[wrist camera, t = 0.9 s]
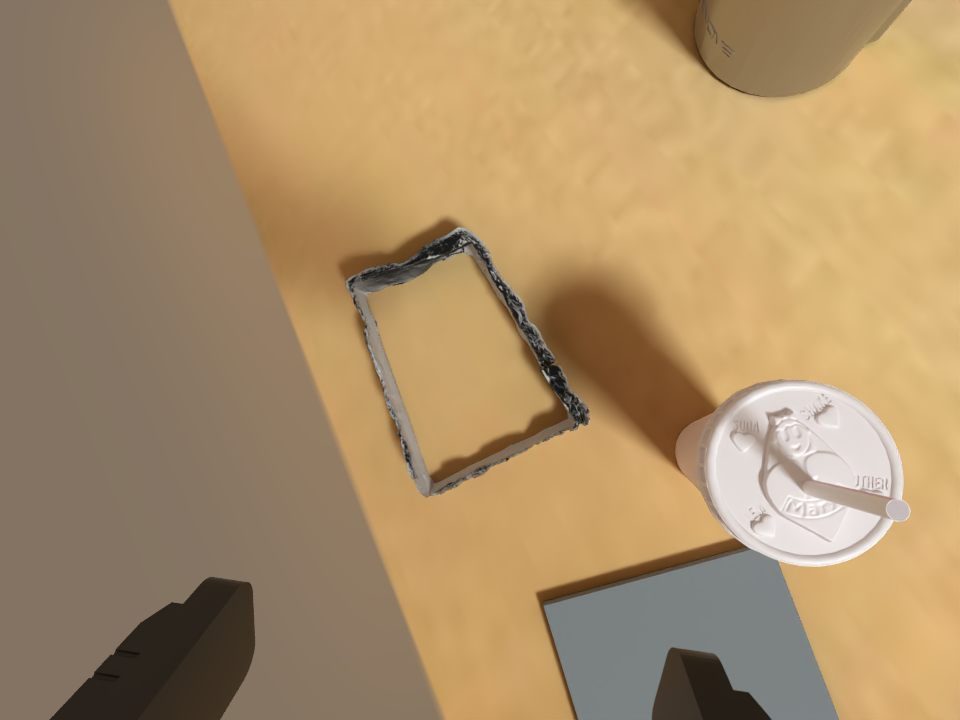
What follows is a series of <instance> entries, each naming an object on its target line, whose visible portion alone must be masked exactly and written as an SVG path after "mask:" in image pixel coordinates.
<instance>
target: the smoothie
mask: <svg viewBox="0 0 960 720" xmlns="http://www.w3.org/2000/svg"><path fill="white" fill-rule="evenodd" d="M675 456H676V460H677V463H678V466H679V468H680V469H681V471H682V472H683V474H684V475H685V476H686V477H687V478H688V479H689V480H690V481H691V482H692V483H693V484H694V485H695V487H696V488H697V489H698V490H699V491H700V492H701V494H702V496H703V498H704V500H705V502H706V504H707V506H708V508H709V510H710V512H711V514H712V515H713V516H714V517H715V518H716V519H717V521H718V522H719V523H720V524H721V525H722V526H723V528H724V529H725V530H726V531H727V532H728V533H729V534H730V535H732V536H733V537H734V538H736V539H737V540H739V541H740V542H741V543H743V544H744V545H745V546H747V547H748V548H750V549H752V550H755V551H757V552H760V553H762V554H764V555H766V556H768V557H770V558H772V559H775V560H778V561H781V562H784V563H788V564H793V565H799V566H828V565H833V564H838V563H841V562H844V561H847V560H850V559H852V558H855V557H857V556H858V555H860V554H862V553H864V552H865V551H867V550H868V549H870V548H871V547H872V546H874V545H875V544H876V543H877V542H878V541H879V540H880V539H881V538H882V537H883V536H884V535H885V533H886V532H887V531H888V529H889V528H890V526H891V525H892V523H893V521H899V522H901V521H905V520H906V519H908V517H909V516H910V507H909V505H908V504H907V503H906V502H905V501H903V500H902V494H903V469H902V463H901V459H900V455H899V452H898V450H897V447H896V444H895V442H894V440H893V438H892V436H891V435H890V433H889V431H888V430H887V428H886V427H885V425H884V424H883V423H882V421H881V420H880V419H879V418H878V417H877V416H876V415H875V413H873V412H872V411H871V410H870V409H869V408H868V407H867V406H866V405H864V404H863V403H862V402H861V401H859V400H858V399H856V398H855V397H853V396H852V395H850V394H848V393H846V392H844V391H842V390H840V389H837V388H835V387H832V386H829V385H826V384H823V383H818V382H814V381H807V380H782V379H781V380H774V381H768V382H761V383H756V384H754V385H752V386H749V387H747V388H745V389H742V390H740V391H738V392H735V393H734V394H733V395H732V396H730V397H729V398H728V399H727V400H725V401H724V402H723V403H722V404H720V405H719V406H718V407H717V408H716V410H715V411H714V412H713V413H711V414H709V415H707V416H705V417H703V418H701V419H699V420H696V421H694V422H692V423H691V424H689V425H688V426H686V427H685V428H684V429H683V430H682V432H681V433H680V435H679V437H678V439H677V442H676V446H675Z"/></svg>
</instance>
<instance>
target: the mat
mask: <svg viewBox="0 0 960 720" xmlns="http://www.w3.org/2000/svg"><path fill="white" fill-rule="evenodd" d="M543 606H544V609H545V613H546V616H547V619H548V623H549V626H550V629H551V632H552V636H553V639H554V642H555V645H556V649H557V652H558V655H559V658H560V662H561V665H562V668H563V671H564V675H565V678H566V681H567V685H568V688H569V691H570V694H571V698H572V701H573V704H574V707H575V711H576V714H577V717H578V720H652V710H653V705H654V701H655V697H656V694H657V690H658V686H659V683H660V679H661V675H662V672H663V668H664V664H665V661H666V657H667V654H668V651H669V650H670V648H672V647H674V648H681V649H688V650H694V651H701V652H708V653H714V654H715V655H716V656H717V657H718V658H719V659H720V661H721V663H722V665H723V667H724V670H725V672H726V674H727V677H728V679H729V681H730V683H731V686H732V688H733V690H737V691H744V692H749V693H750V694H751V695H752V697H753V698H754V699H755V700H756V701H757V703H758V704H759V705H760V706H761V707H762V708H763V710H764V711H765V712H766V713H767V714H768V716H769V717H770V718H771V719H772V720H839V718H838V715H837V713H836V710H835V708H834V705H833V702H832V700H831V697H830V695H829V692H828V690H827V687H826V684H825V682H824V679H823V677H822V674H821V671H820V669H819V666H818V664H817V661H816V659H815V656H814V653H813V651H812V648H811V646H810V643H809V641H808V638H807V635H806V633H805V630H804V628H803V625H802V622H801V620H800V617H799V615H798V612H797V610H796V607H795V604H794V602H793V599H792V597H791V594H790V591H789V589H788V586H787V584H786V581H785V579H784V576H783V573H782V571H781V568H780V566H779V563H778V560H775V559H772V558H770V557H768V556H766V555H764V554H762V553H760V552H757V551H755V550H752V549H750V548H748V547H743V548H740V549H736V550H732V551H729V552H725V553H721V554H718V555H714V556H710V557H707V558H703V559H699V560H696V561H692V562H688V563H685V564H681V565H677V566H674V567H670V568H666V569H662V570H659V571H655V572H651V573H648V574H644V575H640V576H637V577H633V578H629V579H626V580H622V581H618V582H615V583H611V584H607V585H604V586H600V587H596V588H593V589H589V590H585V591H582V592H578V593H574V594H571V595H567V596H563V597H560V598H556V599H552V600H549V601H545V602H544V605H543Z"/></svg>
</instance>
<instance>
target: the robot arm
mask: <svg viewBox="0 0 960 720" xmlns="http://www.w3.org/2000/svg"><path fill="white" fill-rule="evenodd" d="M911 1H912V0H700V3H699V6H698V9H697V13H696V18H695V23H694V27H695V40H696V44H697V47H698V51H699V53H700V55H701V57H702V59H703V60H704V62H705V64H706V65H707V67H708V68H709V69H710V70H711V71H712V72H713V73H714V74H715V75H716V76H717V77H718V78H719V79H721V80H722V81H724V82H725V83H727V84H728V85H730V86H731V87H733V88H736V89H738V90H741V91H743V92H746V93H749V94H754V95H759V96H764V97H785V96H791V95H796V94H802V93H805V92H807V91H810V90H813V89H815V88H818V87H820V86H822V85H823V84H825V83H827V82H828V81H830V80H832V79H833V78H835V77H836V76H837V75H838V74H839V73H840V72H841V71H842V70H844V69H845V68H846V67H847V66H848V65H849V63H850V62H851V61H852V60H853V59H854V57H855V56H856V55H857V54H858V53H859V51H860V50H861V49H862V48H863V47H864V45H866V44H868V43H870V42H873V41H876V40H878V39H879V38H880V37H881V36H882V35H883V33H884V32H885V31H886V30H887V29H888V28H889V26H890V25H891V24H892V23H893V22H894V21H895V19H896V18H897V17H898V16H899V15H900V14H901V12H902V11H903V10H904V9H905V8H906V7H907V5H908V4H909V3H910V2H911ZM253 609H254V608H253V590H252V586H251V584H250V583H249V582H242V581H236V580H228V579H222V578H215V577H209V578H207V579H206V580H204V581H203V582H202V583H201V584H200V586H198V588H197V589H196V590H195V591H194V592H193V593H192V595H191V596H190V597H189V598H188V599H187V600H186V601H185V603H184V604H179V603H173V602H172V603H170V604H169V605H167V606H166V607H164V608H163V609H161V610H159V611H158V612H156V613H155V614H153V615H152V616H150V617H149V618H147V619H146V620H144V621H143V622H141V623H140V624H139V625H138V626H137V627H136V628H135V629H134V630H133V632H132V633H131V634H130V635H129V636H128V637H127V638H126V639H125V640H124V641H123V642H122V643H121V644H120V646H118V648H117V649H116V651H115V653H114V655H110V656H109V657H108V658H107V659H106V660H105V661H104V662H103V663H102V665H101V666H100V667H99V668H98V669H97V670H96V671H95V673H94V676H93V677H92V678H89V679H88V680H87V681H86V682H85V683H84V684H83V685H82V686H81V687H80V688H79V689H78V690H77V691H76V692H75V693H74V694H73V696H72V697H71V698H70V699H69V700H68V701H67V702H66V703H65V704H64V705H63V706H62V707H61V708H60V709H59V710H58V711H57V713H56V714H55V715H54V716H53V717H52V718H51V719H50V720H220V719H221V717H222V716H223V714H224V712H225V711H226V709H227V707H228V706H229V704H230V702H231V700H232V699H233V697H234V696H235V694H236V692H237V691H238V689H239V687H240V685H241V684H242V682H243V681H244V678H245V676H246V675H247V672H248V670H249V667H250V665H251V661H252V658H253V654H254V649H255V630H254V610H253ZM652 720H772V719H771V718H770V717H769V716H768V714H767V713H766V712H765V711H764V710H763V708H762V707H761V706H760V705H759V704H758V703H757V701H756V700H755V699H754V698H753V697H752V695H751V694H750V693H749V692H744V691H737V690H733V688H732V686H731V683H730V681H729V679H728V677H727V674H726V672H725V670H724V667H723V665H722V663H721V661H720V659H719V658H718V657H717V656H716V655H715V654H714V653H708V652H701V651H694V650H688V649H681V648H674V647H672V648H670V650H669V651H668V654H667V657H666V661H665V664H664V668H663V672H662V675H661V679H660V683H659V686H658V690H657V694H656V697H655V701H654V705H653V710H652Z"/></svg>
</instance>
